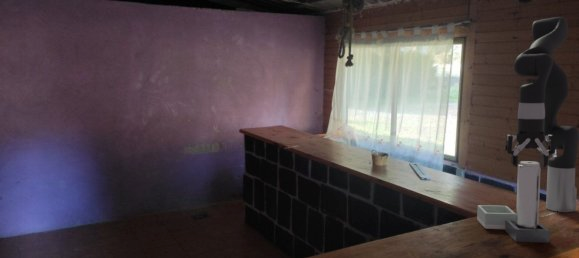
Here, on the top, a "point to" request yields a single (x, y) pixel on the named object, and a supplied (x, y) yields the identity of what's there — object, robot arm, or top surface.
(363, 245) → the top surface
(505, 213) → the white open box
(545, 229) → the socket
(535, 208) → the air filter
